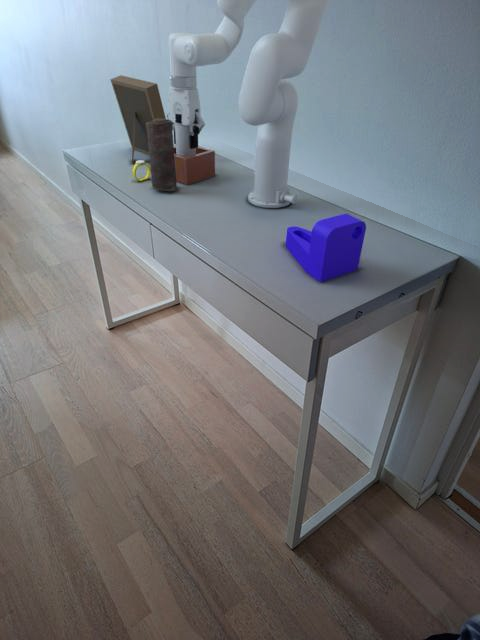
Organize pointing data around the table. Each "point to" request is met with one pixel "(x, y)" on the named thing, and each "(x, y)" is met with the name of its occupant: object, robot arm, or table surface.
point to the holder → (195, 166)
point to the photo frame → (137, 108)
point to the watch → (139, 162)
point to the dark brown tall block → (161, 154)
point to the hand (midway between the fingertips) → (186, 145)
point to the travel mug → (183, 138)
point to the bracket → (328, 246)
